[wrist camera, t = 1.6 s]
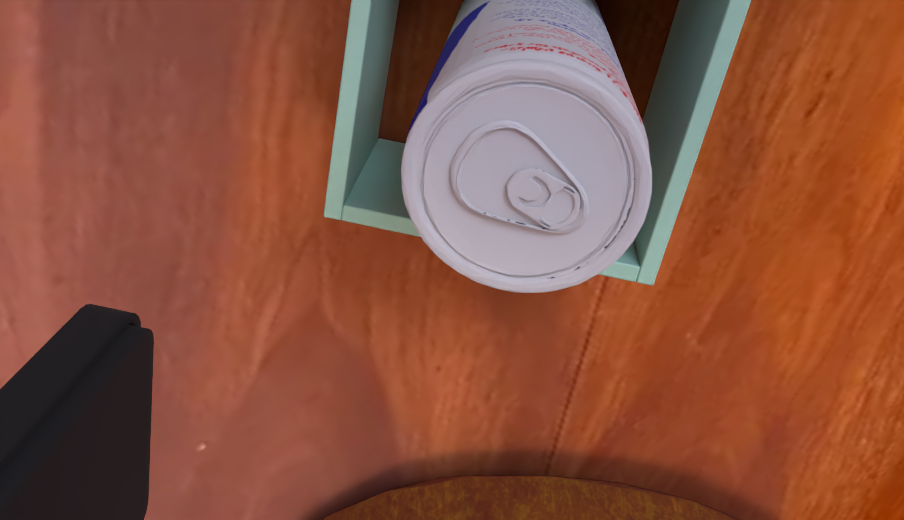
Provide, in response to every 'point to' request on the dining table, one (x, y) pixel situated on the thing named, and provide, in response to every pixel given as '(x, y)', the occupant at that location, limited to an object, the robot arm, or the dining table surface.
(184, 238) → the dining table surface
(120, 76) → the dining table surface
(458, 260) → the beverage can
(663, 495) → the bread
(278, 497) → the dining table surface
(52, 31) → the dining table surface
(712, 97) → the open square box
